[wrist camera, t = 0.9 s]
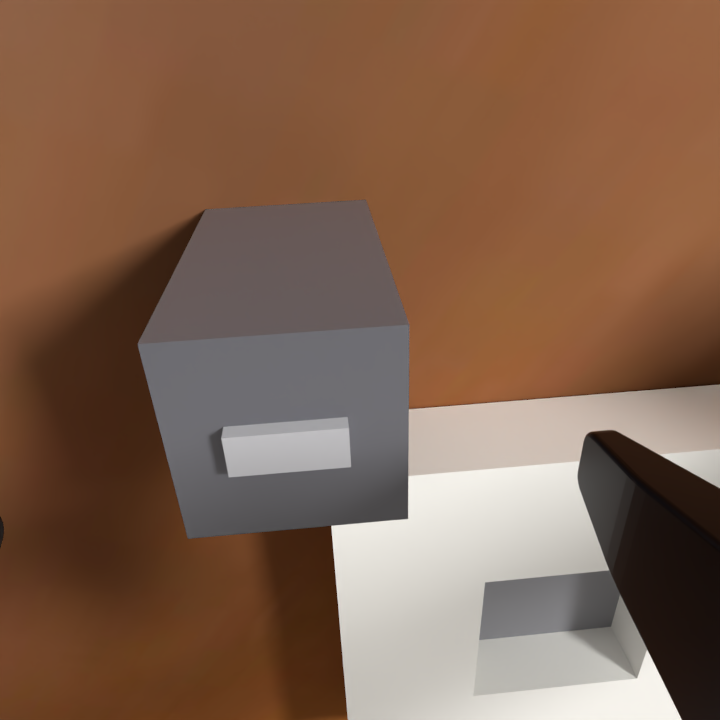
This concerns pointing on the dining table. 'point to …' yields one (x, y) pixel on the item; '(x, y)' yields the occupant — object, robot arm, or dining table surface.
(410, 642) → the outlet plate
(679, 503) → the robot arm
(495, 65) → the dining table surface
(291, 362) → the grey square peg
